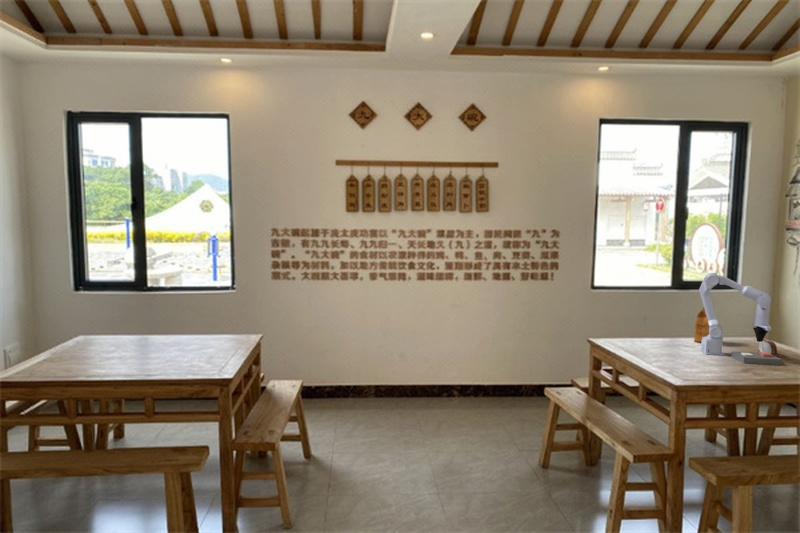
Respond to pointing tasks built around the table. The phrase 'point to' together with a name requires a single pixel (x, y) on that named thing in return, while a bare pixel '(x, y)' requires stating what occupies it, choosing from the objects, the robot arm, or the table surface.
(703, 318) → the coffee package
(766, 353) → the red button
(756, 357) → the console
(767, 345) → the tin
